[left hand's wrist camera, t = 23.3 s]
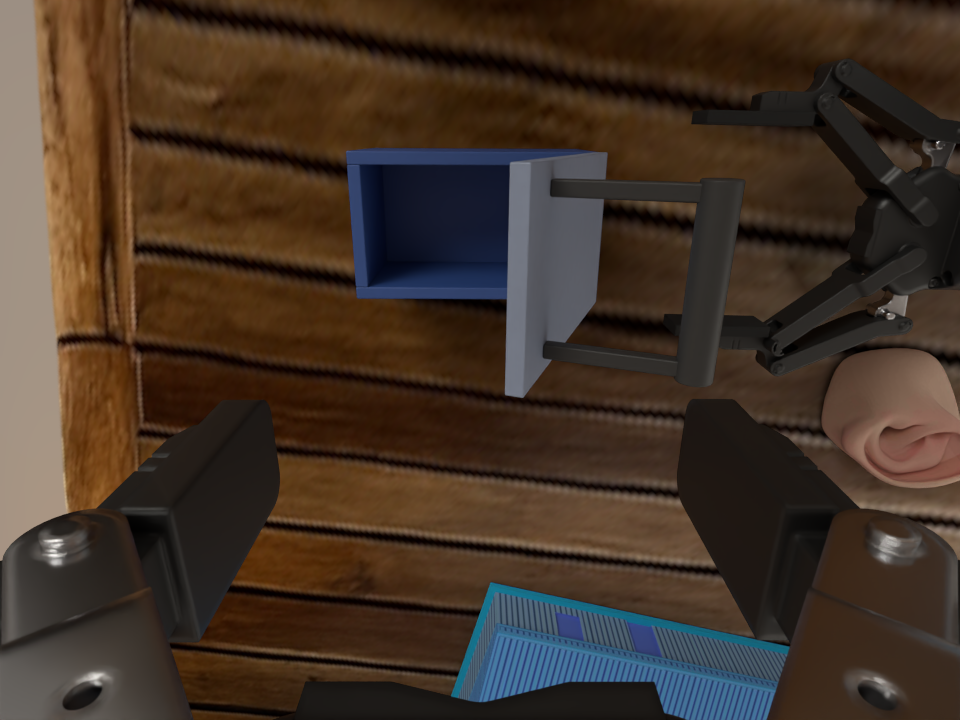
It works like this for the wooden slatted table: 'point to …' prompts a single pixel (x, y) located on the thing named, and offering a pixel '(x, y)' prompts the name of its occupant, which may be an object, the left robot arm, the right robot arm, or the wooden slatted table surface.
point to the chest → (433, 220)
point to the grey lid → (575, 261)
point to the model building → (615, 656)
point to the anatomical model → (895, 417)
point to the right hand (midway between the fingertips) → (682, 227)
